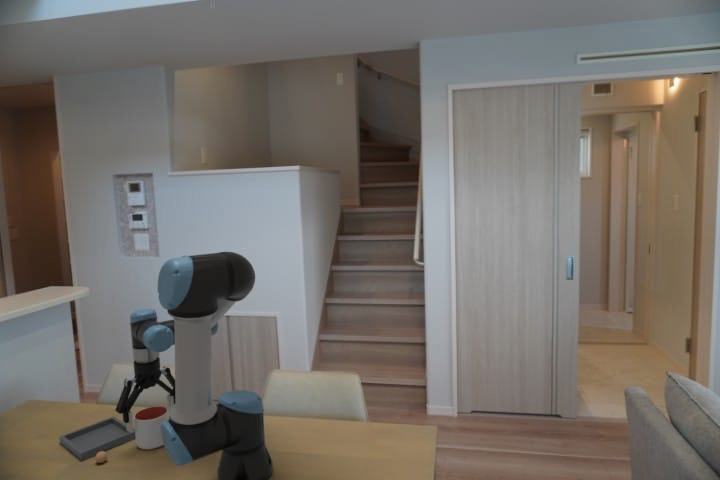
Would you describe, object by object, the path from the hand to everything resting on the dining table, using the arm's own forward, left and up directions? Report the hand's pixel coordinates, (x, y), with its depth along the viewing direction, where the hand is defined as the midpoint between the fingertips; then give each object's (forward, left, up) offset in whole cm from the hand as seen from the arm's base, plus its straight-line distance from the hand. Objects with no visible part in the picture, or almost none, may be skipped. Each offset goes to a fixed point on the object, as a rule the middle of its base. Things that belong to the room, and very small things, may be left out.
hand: (151, 422), depth 153 cm
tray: (+16, +10, -7) cm, 20 cm away
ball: (+2, +15, -7) cm, 16 cm away
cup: (0, 0, -7) cm, 7 cm away
